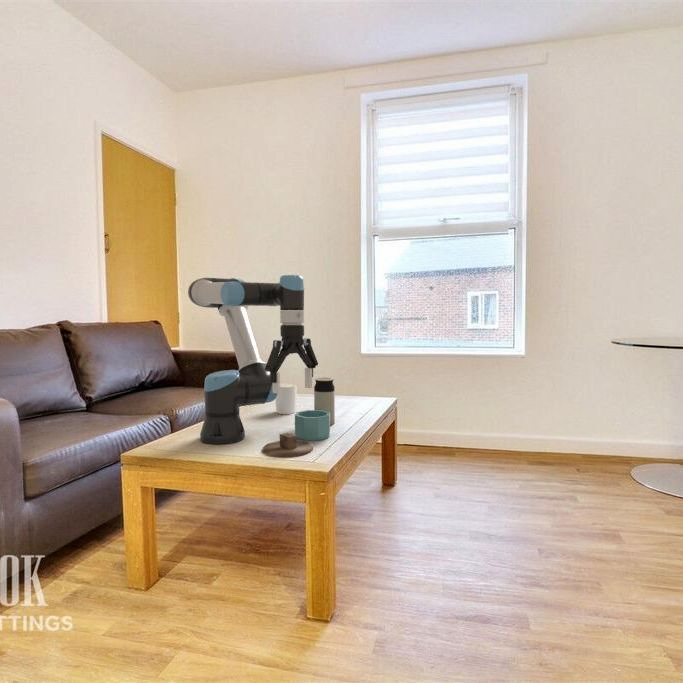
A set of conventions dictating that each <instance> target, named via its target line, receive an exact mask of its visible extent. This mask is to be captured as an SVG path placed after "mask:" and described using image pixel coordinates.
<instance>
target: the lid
mask: <svg viewBox="0 0 683 683" xmlns="http://www.w3.org/2000/svg"><path fill="white" fill-rule="evenodd" d="M297 439H298V438H297V436H296V435H295V434H293V433H289V432H284V433H279V440H277V441H273V442H269V443H266V444H265V445H264V446H263V447H262V451H263V453H264V454H265V453H266V454H265V455H266V456H269V455H270V457H275V458H296V457H302V456H306V455H308V453H309V454H310V453H312V452H313V450H314V446H313V444H312V443H311V442H309V441H306V440H299V439H298V440H297ZM311 451H312V452H311ZM305 454H306V455H305Z"/></svg>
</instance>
